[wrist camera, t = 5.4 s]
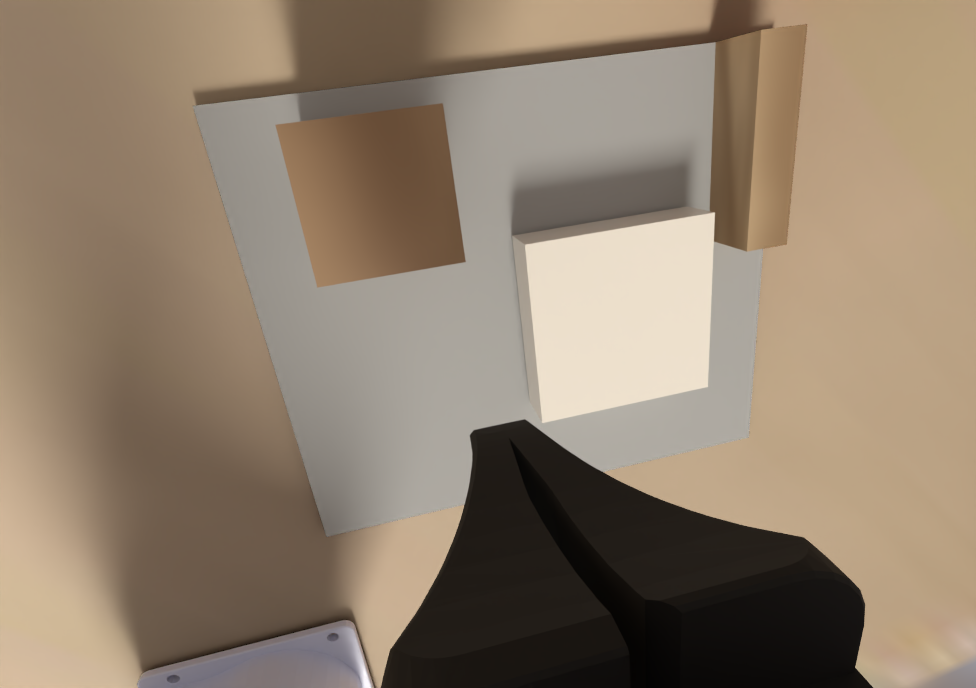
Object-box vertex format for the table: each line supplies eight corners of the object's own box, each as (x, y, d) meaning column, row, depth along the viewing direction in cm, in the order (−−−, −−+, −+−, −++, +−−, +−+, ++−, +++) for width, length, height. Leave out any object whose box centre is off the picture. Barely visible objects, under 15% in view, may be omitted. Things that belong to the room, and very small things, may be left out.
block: (330, 250, 19) (317, 287, 14) (301, 127, 17) (275, 125, 12) (443, 232, 19) (465, 261, 15) (424, 111, 18) (443, 103, 13)
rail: (708, 239, 21) (746, 251, 19) (715, 42, 19) (761, 29, 16) (744, 233, 22) (786, 244, 19) (756, 37, 19) (807, 24, 17)
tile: (542, 423, 21) (707, 387, 22) (524, 244, 18) (715, 212, 19) (528, 400, 22) (682, 367, 23) (511, 235, 20) (685, 205, 21)
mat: (327, 530, 23) (326, 537, 23) (196, 106, 17) (192, 105, 16) (743, 433, 26) (748, 437, 26) (771, 36, 19) (779, 34, 19)
